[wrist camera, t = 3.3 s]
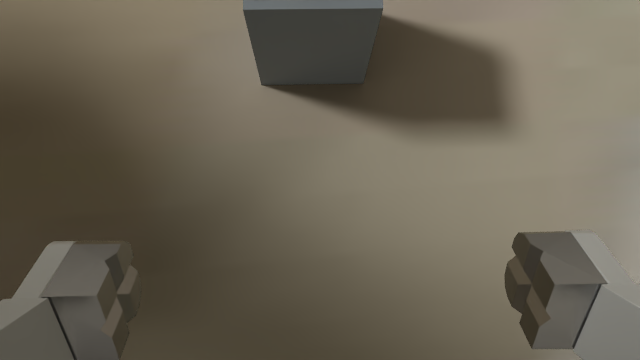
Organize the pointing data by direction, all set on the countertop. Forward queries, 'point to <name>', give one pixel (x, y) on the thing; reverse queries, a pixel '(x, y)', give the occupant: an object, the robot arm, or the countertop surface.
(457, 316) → the countertop surface
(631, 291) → the robot arm
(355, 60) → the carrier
